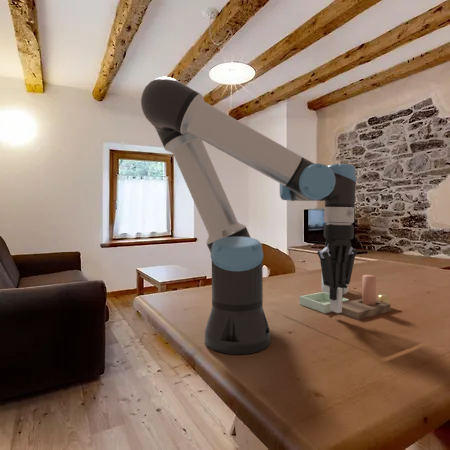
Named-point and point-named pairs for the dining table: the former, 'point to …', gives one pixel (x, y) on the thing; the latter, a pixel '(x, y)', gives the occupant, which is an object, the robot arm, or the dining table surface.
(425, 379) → the dining table surface
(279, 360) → the dining table surface
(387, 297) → the bench dog
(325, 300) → the tray
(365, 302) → the pink tapered rounded cylinder
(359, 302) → the wooden block with recess
